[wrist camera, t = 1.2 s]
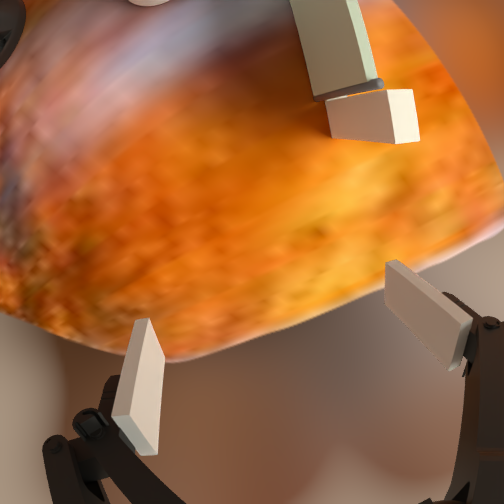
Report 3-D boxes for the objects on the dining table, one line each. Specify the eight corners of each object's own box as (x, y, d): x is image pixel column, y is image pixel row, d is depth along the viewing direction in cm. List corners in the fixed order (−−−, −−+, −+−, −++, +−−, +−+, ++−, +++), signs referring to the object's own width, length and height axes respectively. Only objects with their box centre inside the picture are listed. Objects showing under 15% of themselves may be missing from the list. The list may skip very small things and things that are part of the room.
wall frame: (282, -51, 27) (316, -109, 13) (302, -51, 28) (341, -105, 14) (331, 138, 39) (395, 144, 25) (351, 135, 39) (420, 140, 25)
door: (270, -20, 29) (304, -81, 15) (290, -21, 30) (331, -78, 15) (301, 104, 37) (358, 90, 22) (321, 101, 37) (385, 88, 22)
